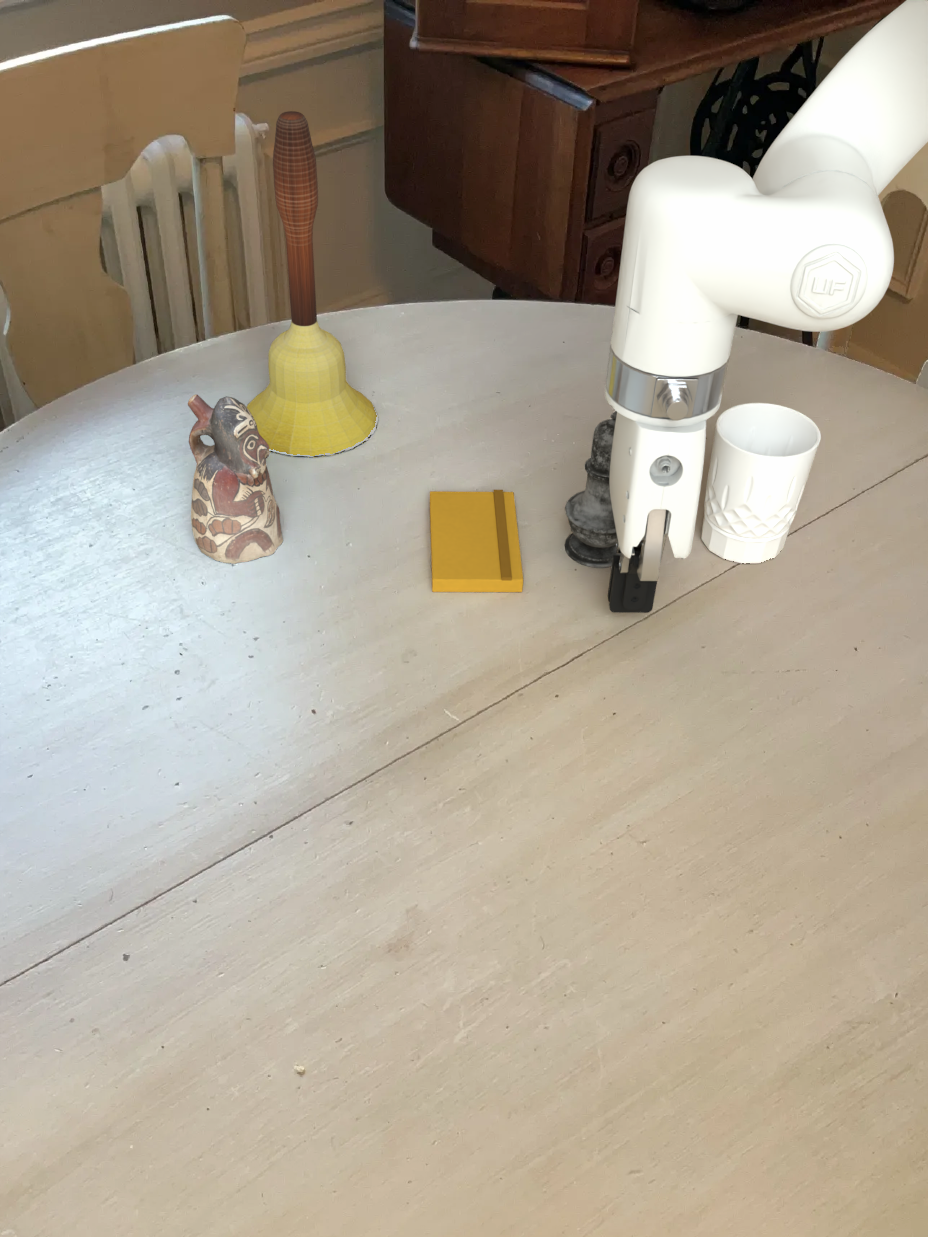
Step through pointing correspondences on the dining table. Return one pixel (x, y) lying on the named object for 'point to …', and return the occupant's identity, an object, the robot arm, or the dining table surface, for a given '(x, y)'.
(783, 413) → the white cup
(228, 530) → the figurine
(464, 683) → the dining table surface
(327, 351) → the handbell
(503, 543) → the yellow strapped notebook
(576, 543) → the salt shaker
